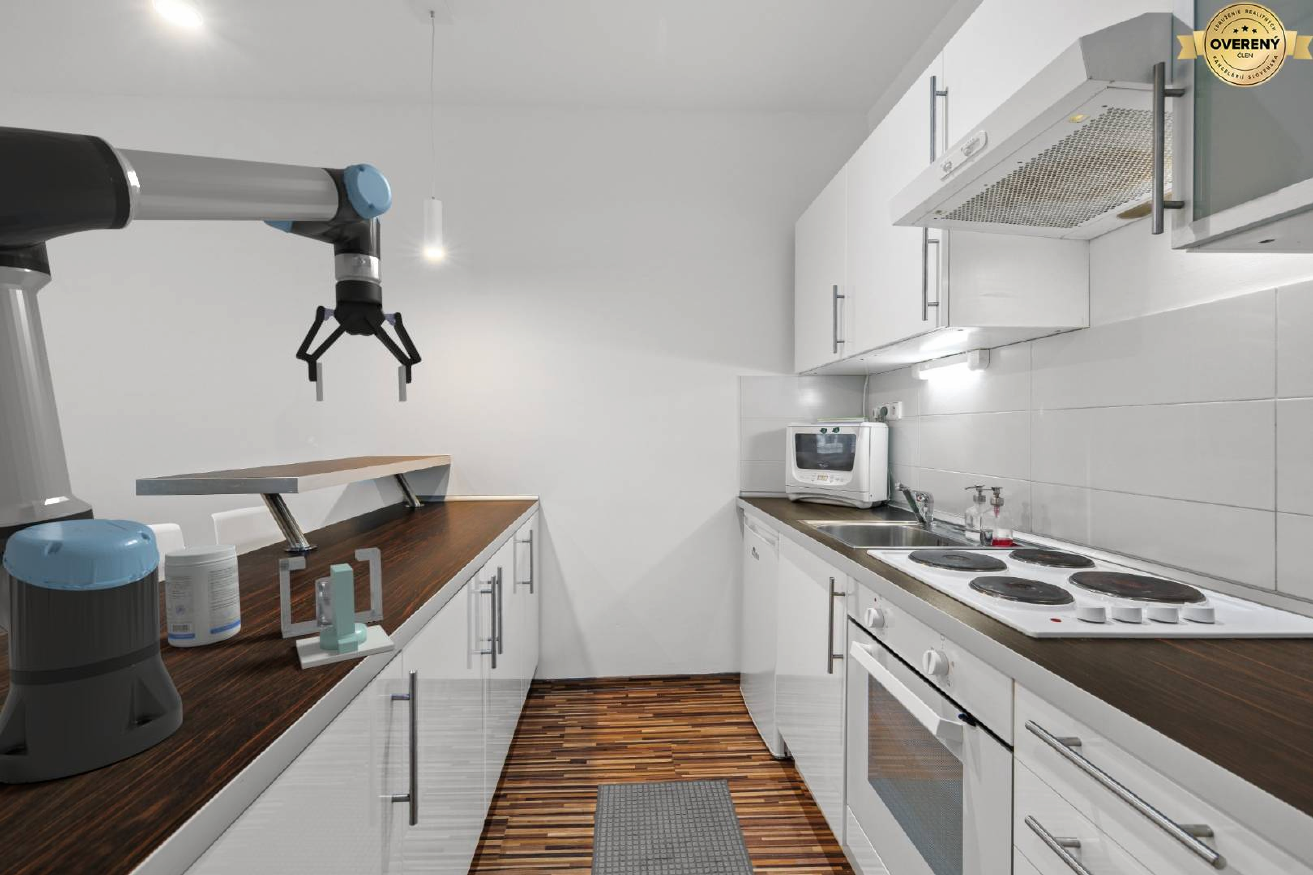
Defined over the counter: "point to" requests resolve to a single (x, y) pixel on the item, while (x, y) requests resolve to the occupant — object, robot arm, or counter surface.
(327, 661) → the pad
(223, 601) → the supplement tub
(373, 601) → the grey open frame
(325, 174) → the robot arm
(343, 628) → the mint inverted t-block
